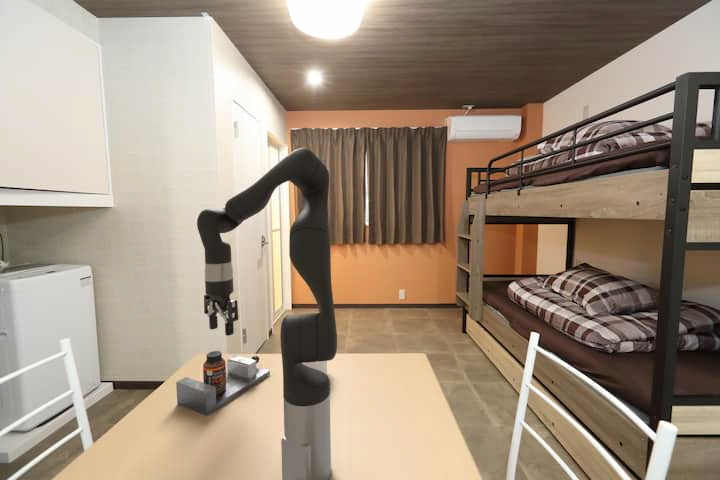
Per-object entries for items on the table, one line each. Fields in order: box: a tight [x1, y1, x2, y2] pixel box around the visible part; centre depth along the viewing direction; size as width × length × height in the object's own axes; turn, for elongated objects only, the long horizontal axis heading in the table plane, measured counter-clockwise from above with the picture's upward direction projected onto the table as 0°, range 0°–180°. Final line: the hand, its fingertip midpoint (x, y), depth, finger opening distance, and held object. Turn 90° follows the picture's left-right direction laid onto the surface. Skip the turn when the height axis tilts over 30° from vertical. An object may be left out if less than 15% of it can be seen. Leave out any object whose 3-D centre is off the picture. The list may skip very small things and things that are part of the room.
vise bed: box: [175, 366, 271, 417], centre depth 98 cm, size 24×12×6 cm, turn 154°
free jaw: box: [226, 354, 260, 380], centre depth 106 cm, size 9×9×5 cm
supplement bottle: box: [202, 350, 227, 395], centre depth 94 cm, size 6×6×11 cm
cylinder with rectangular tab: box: [302, 361, 328, 376], centre depth 106 cm, size 9×9×12 cm
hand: (221, 331), depth 96 cm, fingers open, 8 cm apart
